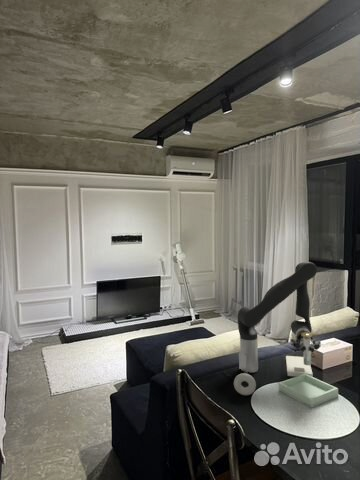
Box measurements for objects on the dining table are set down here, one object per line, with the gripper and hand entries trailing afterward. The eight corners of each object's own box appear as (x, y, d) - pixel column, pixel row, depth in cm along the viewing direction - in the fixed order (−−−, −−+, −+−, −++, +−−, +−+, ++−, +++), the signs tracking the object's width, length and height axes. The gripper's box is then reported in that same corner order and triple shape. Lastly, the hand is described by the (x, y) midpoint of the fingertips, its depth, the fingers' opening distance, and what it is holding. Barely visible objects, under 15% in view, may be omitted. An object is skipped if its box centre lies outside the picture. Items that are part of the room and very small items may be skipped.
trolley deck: (312, 377, 164) (312, 374, 164) (287, 375, 167) (287, 371, 167) (308, 360, 185) (308, 357, 185) (286, 359, 188) (285, 355, 188)
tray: (310, 407, 137) (310, 399, 137) (278, 390, 153) (278, 382, 153) (338, 396, 146) (338, 388, 145) (305, 380, 161) (305, 373, 161)
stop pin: (308, 366, 146) (307, 336, 145) (299, 363, 150) (299, 333, 149) (315, 364, 148) (314, 334, 148) (306, 361, 152) (305, 331, 152)
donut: (233, 395, 149) (233, 374, 148) (234, 392, 152) (233, 371, 152) (256, 397, 146) (255, 375, 146) (256, 394, 150) (255, 372, 150)
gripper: (288, 329, 164) (290, 340, 148) (319, 330, 160) (324, 342, 144) (289, 344, 164) (291, 357, 148) (319, 345, 161) (324, 359, 144)
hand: (307, 350), depth 146 cm, fingers closed on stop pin, 3 cm apart
